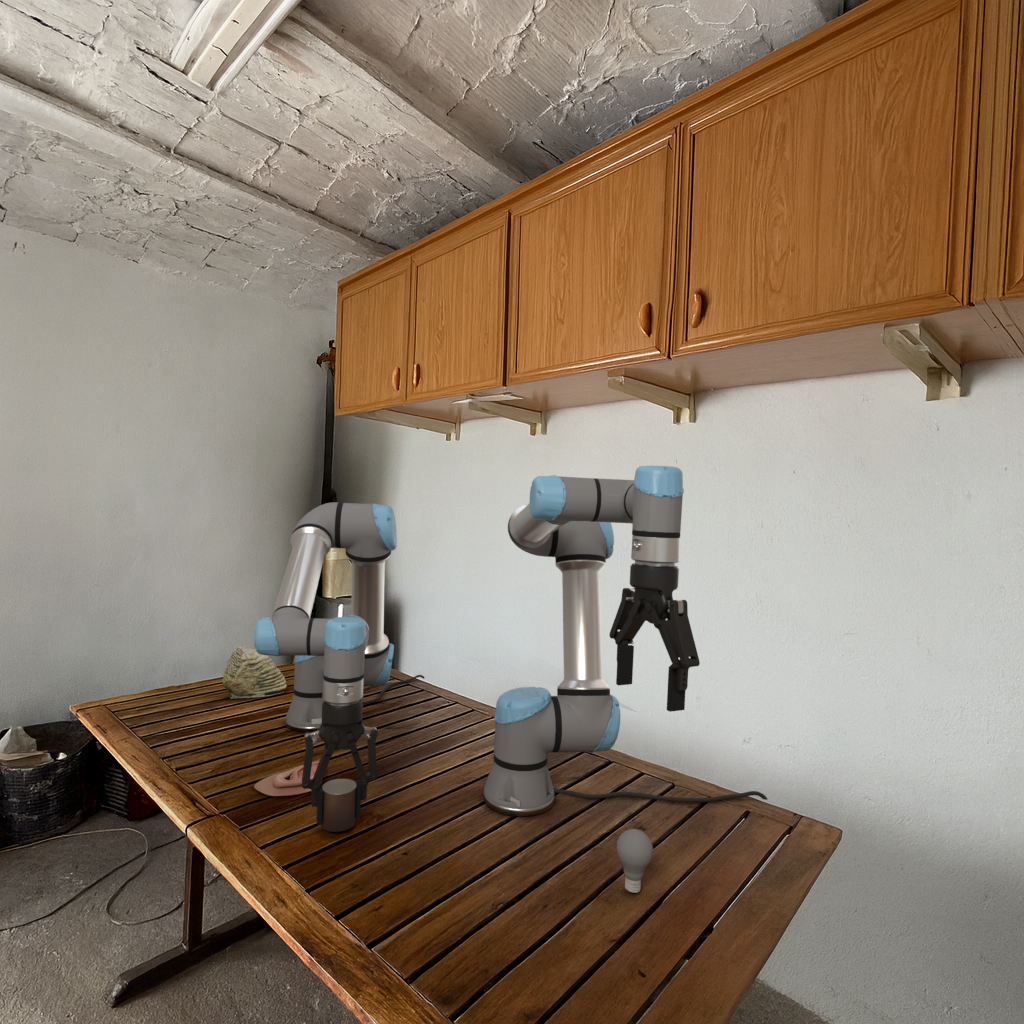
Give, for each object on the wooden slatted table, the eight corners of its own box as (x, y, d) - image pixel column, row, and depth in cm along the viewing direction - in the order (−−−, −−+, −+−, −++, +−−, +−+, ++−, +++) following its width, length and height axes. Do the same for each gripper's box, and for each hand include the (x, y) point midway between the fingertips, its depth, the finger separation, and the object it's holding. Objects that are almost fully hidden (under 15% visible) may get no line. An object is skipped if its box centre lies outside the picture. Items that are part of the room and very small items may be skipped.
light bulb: (610, 879, 108) (613, 822, 108) (644, 879, 109) (647, 822, 109) (619, 902, 102) (622, 840, 102) (655, 901, 103) (658, 840, 103)
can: (316, 819, 122) (318, 782, 122) (349, 811, 126) (350, 775, 126) (326, 835, 117) (327, 797, 117) (360, 826, 120) (361, 789, 120)
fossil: (218, 695, 195) (220, 647, 195) (278, 685, 208) (279, 640, 207) (228, 703, 189) (230, 653, 188) (289, 692, 201) (290, 645, 201)
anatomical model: (246, 773, 134) (276, 753, 145) (245, 792, 134) (276, 770, 145) (303, 782, 131) (330, 760, 142) (302, 801, 131) (329, 777, 142)
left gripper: (289, 710, 114) (285, 837, 114) (397, 702, 121) (392, 821, 121) (288, 697, 121) (284, 816, 121) (390, 690, 128) (385, 802, 128)
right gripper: (593, 555, 110) (587, 676, 111) (687, 573, 88) (679, 725, 88) (629, 555, 113) (623, 673, 114) (729, 572, 91) (721, 720, 91)
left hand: (338, 818), depth 121 cm, fingers closed on can, 6 cm apart
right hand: (648, 696), depth 101 cm, fingers open, 13 cm apart
